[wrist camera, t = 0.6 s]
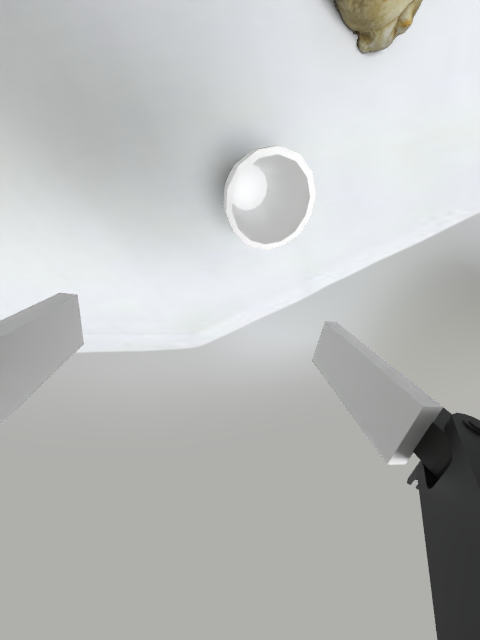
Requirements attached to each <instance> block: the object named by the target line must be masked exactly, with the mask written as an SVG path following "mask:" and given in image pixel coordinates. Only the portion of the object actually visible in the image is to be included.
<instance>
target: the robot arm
mask: <svg viewBox="0 0 480 640" xmlns="http://www.w3.org/2000/svg"><path fill="white" fill-rule="evenodd" d="M83 344H84V343H83V335H82V327H81V319H80V311H79V303H78V295H75V294H66V293H58V294H56V295H54V296H52V297H50V298H48V299H46V300H44V301H42V302H39V303H37V304H35V305H33V306H31V307H29V308H27V309H25V310H22V311H20V312H18V313H16V314H14V315H12V316H10V317H8V318H5V319H3V320H1V321H0V424H1V423H3V422H4V421H5V420H6V419H7V418H8V417H9V416H10V415H11V414H12V413H13V412H14V411H15V410H16V409H17V408H18V407H19V406H20V405H21V404H22V403H23V402H24V401H25V400H26V399H27V398H28V397H30V395H31V394H33V393H34V392H35V391H36V390H37V389H38V388H39V387H40V386H41V385H42V384H43V383H44V382H45V381H46V380H47V379H48V378H49V377H50V376H51V375H52V374H53V373H54V372H55V371H56V370H57V369H59V368H60V367H61V366H62V365H63V364H64V363H65V362H66V361H67V360H68V359H69V358H70V357H71V356H72V355H73V354H74V353H75V352H76V351H77V350H78V349H79V348H80V347H81V346H82V345H83ZM312 362H313V363H314V364H315V366H316V367H317V368H318V370H319V371H320V372H321V374H322V375H323V377H324V378H325V379H326V381H327V382H328V384H329V385H330V386H331V388H332V389H333V390H334V392H335V393H336V394H337V396H338V397H339V399H340V400H341V401H342V403H343V404H344V405H345V407H346V408H347V410H348V411H349V412H350V414H351V415H352V416H353V418H354V419H355V420H356V422H357V423H358V425H359V426H360V427H361V429H362V430H363V431H364V433H365V434H366V436H367V437H368V438H369V440H370V441H371V442H372V444H373V445H374V447H375V448H376V449H377V451H378V452H379V453H380V455H381V456H382V458H383V459H384V460H385V462H386V463H387V464H406V463H407V461H408V460H409V458H410V457H411V455H412V454H413V452H414V453H415V454H416V455H417V457H418V458H419V459H420V460H421V461H420V462H419V464H418V465H417V466H416V468H415V469H414V471H413V472H412V474H411V475H410V476H409V478H408V481H407V483H408V484H410V485H411V484H412V482H413V481H414V480H418V485H417V486H416V488H417V489H419V494H420V501H421V509H422V518H423V526H424V534H425V542H426V550H427V558H428V566H429V574H430V582H431V590H432V599H433V606H434V614H435V623H436V631H437V639H438V640H480V420H478V419H476V418H474V417H471V416H468V415H465V414H461V413H455V414H453V415H452V414H451V413H449V412H448V411H447V410H446V409H445V408H443V407H442V406H441V405H440V404H439V403H438V402H436V401H435V400H434V399H432V398H431V397H430V396H429V395H427V394H426V393H425V392H424V391H422V390H421V389H420V388H418V387H417V386H416V385H415V384H414V383H412V382H411V381H410V380H409V379H407V378H406V377H405V376H404V375H402V374H401V373H400V372H399V371H397V370H396V369H395V368H394V367H392V366H391V365H390V364H388V363H387V362H386V361H384V360H383V359H382V358H381V357H380V356H378V355H377V354H376V353H374V352H373V351H372V350H371V349H370V348H368V347H367V346H366V345H365V344H363V343H362V342H361V341H360V340H358V339H357V338H356V337H355V336H353V335H352V334H351V333H349V332H348V331H347V330H345V329H344V328H343V327H342V326H341V325H339V324H338V323H336V322H327V321H325V323H324V327H323V329H322V332H321V335H320V338H319V341H318V344H317V347H316V350H315V353H314V356H313V359H312Z"/></svg>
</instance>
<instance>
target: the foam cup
mask: <svg viewBox="0 0 480 640" xmlns="http://www.w3.org/2000/svg"><path fill="white" fill-rule="evenodd" d="M315 196H316V194H315V187H314V179H313V173H312V171H311V170H310V168H309V167H308V165H307V164H306V162H305V161H304V159H303V158H302V157H301V155H300V154H298V153H295V152H293V151H291V150H289V149H286V148H284V147H282V146H271V147H266V148H260V149H255V150H251V151H250V152H249V153H248V154H247V155H245V156H244V157H243V158H242V159H241V160H239V161H238V162H237V163H236V164H235V165H234V167H233V169H232V170H231V171H230V173H229V176H228V178H227V180H226V184H225V186H224V210H225V213H226V215H227V218H228V221H229V223H230V226H231V228H232V230H233V232H234V233H235V234H236V235H237V236H238V237H239V238H240V239H241V240H243V241H244V242H245V243H246V244H247V245H249V246H252V247H256V248H260V249H264V250H266V249H271V248H276V247H281V246H283V245H285V244H286V243H288V242H289V241H290V240H292V239H293V238H295V237H296V236H298V235H299V233H300V232H301V230H302V229H303V227H304V226H305V224H306V223H307V221H308V220H309V218H310V216H311V212H312V208H313V204H314V200H315Z"/></svg>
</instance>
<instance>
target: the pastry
mask: <svg viewBox="0 0 480 640" xmlns="http://www.w3.org/2000/svg"><path fill="white" fill-rule="evenodd" d="M421 2H422V0H334V3H335V6H336V8H337V10H338V11H340V13H341V15H342V18H343V20H344V22H345V23H346V24H347V26H348V27H349V28H350V29H352V30H354V33H353V34H356V35H359V37H358V40H357V46H358V47H359V50H360V51H361V52H362V53H367V52H368V51H369V52H372V51H378V50H383V49H385V48H387V47H388V46H389V45H390V44H391V43H392V42H393V40H394V39H395V37H397V36H398V35H400V34H403V33H404V32H405V31H406V30H407V29H408V28H409V27H410V25H411V24H412V21H413V17H414V15H415V14H416V12H417V10H418V8H419V6H420V4H421Z"/></svg>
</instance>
